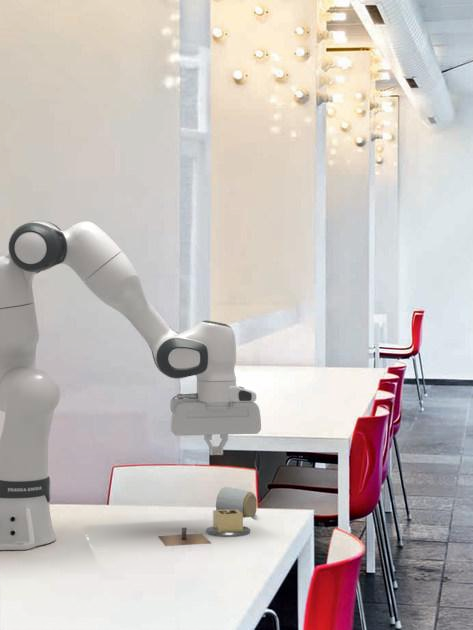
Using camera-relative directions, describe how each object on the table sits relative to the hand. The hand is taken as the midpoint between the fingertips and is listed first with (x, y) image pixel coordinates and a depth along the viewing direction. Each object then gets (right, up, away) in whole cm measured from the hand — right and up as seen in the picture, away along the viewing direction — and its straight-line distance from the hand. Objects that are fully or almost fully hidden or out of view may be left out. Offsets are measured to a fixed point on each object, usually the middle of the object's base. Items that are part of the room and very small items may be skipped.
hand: (216, 454), depth 249 cm
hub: (+3, -19, +1) cm, 19 cm away
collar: (+3, -17, +1) cm, 17 cm away
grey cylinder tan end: (+5, -19, +24) cm, 31 cm away
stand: (-7, -19, -6) cm, 21 cm away
